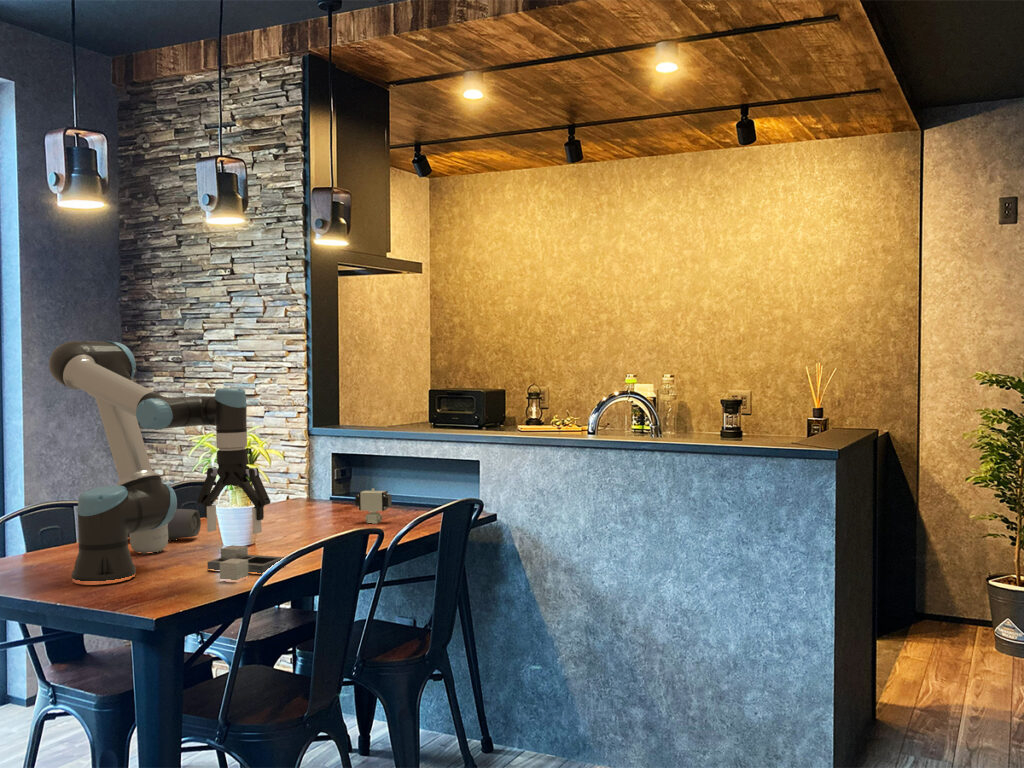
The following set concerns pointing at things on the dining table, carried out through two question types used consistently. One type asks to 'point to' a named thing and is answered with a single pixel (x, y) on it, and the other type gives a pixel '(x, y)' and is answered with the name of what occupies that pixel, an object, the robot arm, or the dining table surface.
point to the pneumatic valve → (373, 504)
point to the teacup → (149, 540)
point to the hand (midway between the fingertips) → (234, 532)
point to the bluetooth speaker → (184, 524)
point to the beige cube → (234, 569)
